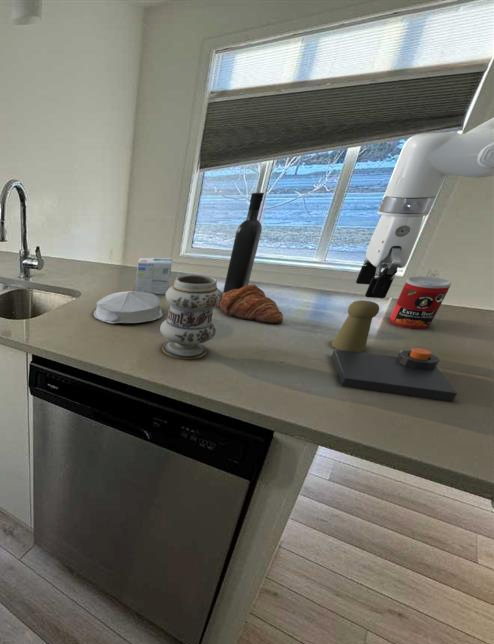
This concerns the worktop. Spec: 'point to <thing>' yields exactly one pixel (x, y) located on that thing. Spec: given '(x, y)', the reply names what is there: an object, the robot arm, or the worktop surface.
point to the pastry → (250, 305)
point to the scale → (393, 374)
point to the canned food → (419, 302)
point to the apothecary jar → (190, 315)
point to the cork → (356, 326)
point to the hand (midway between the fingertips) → (369, 290)
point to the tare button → (420, 354)
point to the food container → (128, 307)
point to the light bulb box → (153, 275)
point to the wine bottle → (245, 247)
